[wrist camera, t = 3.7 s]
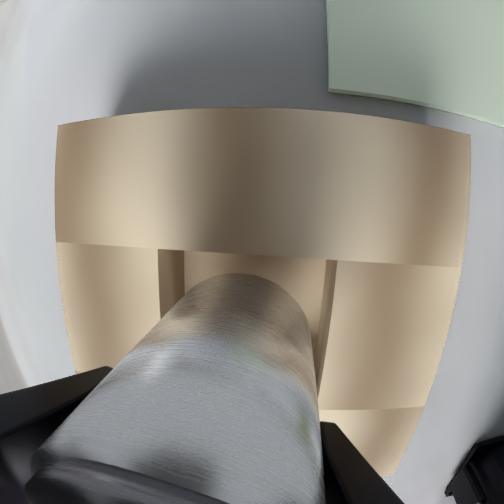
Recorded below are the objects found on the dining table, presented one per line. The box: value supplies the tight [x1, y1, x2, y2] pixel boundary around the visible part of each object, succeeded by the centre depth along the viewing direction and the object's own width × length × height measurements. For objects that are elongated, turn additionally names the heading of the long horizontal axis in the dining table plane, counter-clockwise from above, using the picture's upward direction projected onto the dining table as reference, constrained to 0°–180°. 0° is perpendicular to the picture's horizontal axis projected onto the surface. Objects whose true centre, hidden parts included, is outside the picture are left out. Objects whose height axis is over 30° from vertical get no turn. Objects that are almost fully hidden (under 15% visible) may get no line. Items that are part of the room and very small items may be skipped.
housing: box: [55, 107, 471, 477], centre depth 13 cm, size 16×16×4 cm
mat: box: [325, 0, 504, 128], centre depth 11 cm, size 12×12×1 cm
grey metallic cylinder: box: [24, 273, 326, 504], centre depth 7 cm, size 5×5×8 cm
